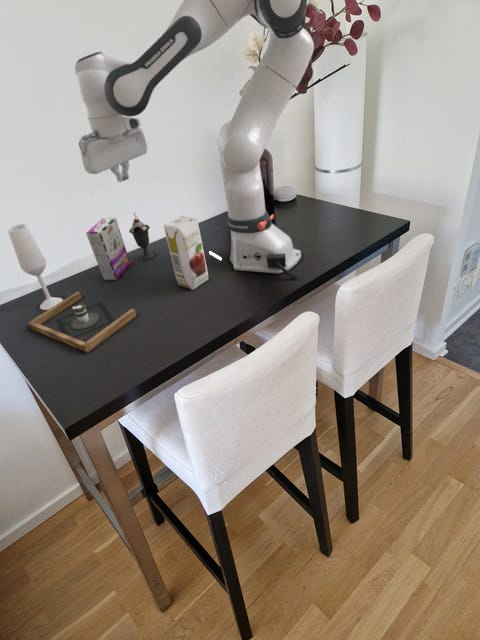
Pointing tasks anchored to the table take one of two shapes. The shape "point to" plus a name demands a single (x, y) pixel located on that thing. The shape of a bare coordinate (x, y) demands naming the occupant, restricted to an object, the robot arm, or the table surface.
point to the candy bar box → (108, 248)
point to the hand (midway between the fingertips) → (123, 180)
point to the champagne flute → (31, 259)
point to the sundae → (141, 237)
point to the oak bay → (71, 341)
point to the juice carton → (186, 251)
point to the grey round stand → (83, 317)
